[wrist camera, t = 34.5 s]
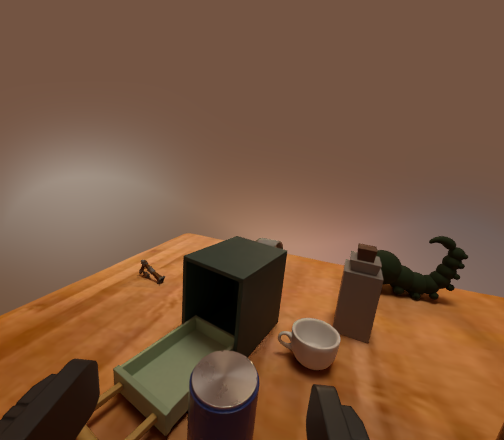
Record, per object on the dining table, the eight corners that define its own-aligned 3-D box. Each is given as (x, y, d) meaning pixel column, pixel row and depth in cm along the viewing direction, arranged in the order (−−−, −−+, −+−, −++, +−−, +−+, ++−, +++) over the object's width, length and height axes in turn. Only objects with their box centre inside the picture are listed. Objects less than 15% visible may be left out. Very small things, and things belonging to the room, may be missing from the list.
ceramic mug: (261, 254, 87) (263, 233, 85) (282, 260, 83) (284, 239, 81) (245, 263, 78) (246, 241, 76) (267, 271, 74) (269, 247, 72)
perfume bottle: (332, 331, 49) (348, 248, 45) (335, 313, 56) (349, 239, 51) (368, 343, 47) (389, 257, 43) (367, 323, 53) (385, 246, 49)
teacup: (330, 346, 45) (335, 321, 44) (339, 382, 38) (345, 353, 37) (276, 337, 46) (280, 312, 45) (275, 370, 39) (279, 342, 38)
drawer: (111, 496, 23) (109, 472, 22) (60, 426, 28) (58, 405, 27) (240, 355, 40) (241, 339, 39) (194, 328, 45) (195, 314, 45)
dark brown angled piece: (140, 269, 66) (145, 256, 64) (160, 288, 64) (165, 275, 62) (134, 271, 64) (139, 258, 62) (154, 291, 62) (160, 278, 60)
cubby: (235, 371, 38) (243, 279, 34) (181, 337, 44) (183, 255, 40) (277, 322, 51) (287, 250, 47) (231, 300, 57) (237, 236, 53)
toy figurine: (435, 298, 70) (346, 272, 77) (461, 237, 65) (363, 215, 72) (450, 317, 61) (347, 286, 68) (481, 248, 56) (368, 222, 63)
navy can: (258, 466, 27) (271, 369, 23) (222, 540, 21) (232, 427, 18) (213, 429, 30) (220, 339, 27) (172, 485, 24) (173, 381, 21)
